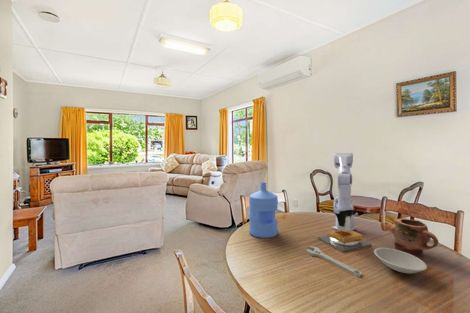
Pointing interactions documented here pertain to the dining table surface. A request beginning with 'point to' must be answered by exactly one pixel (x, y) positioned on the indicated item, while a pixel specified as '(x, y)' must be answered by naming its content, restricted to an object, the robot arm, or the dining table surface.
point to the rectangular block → (345, 225)
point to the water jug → (263, 213)
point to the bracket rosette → (345, 240)
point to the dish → (400, 260)
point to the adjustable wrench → (332, 260)
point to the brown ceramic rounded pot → (412, 236)
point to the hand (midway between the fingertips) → (343, 225)
